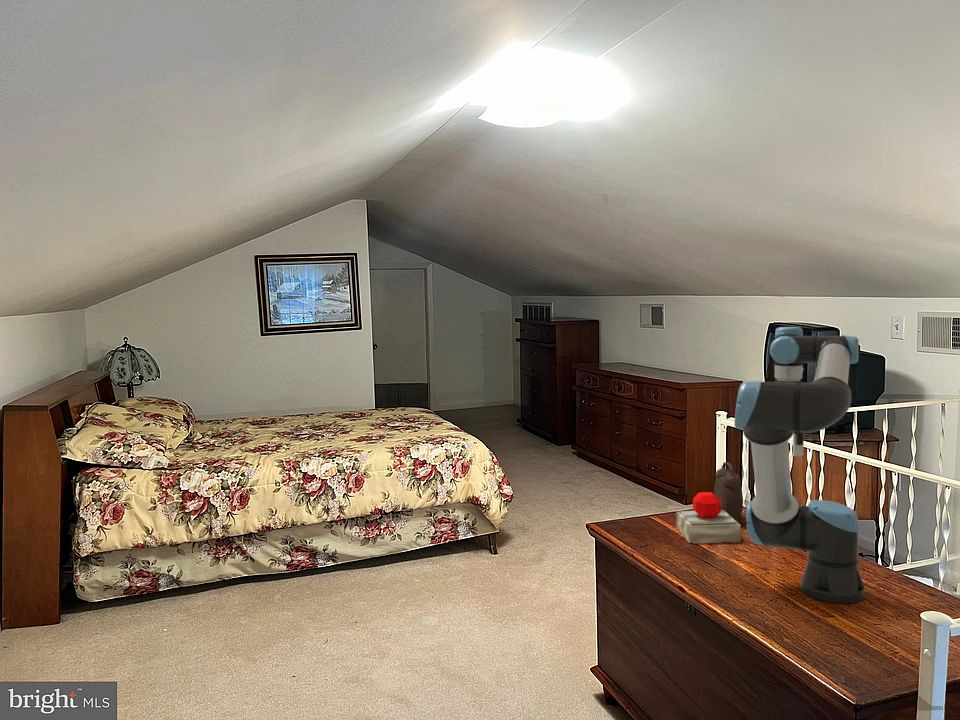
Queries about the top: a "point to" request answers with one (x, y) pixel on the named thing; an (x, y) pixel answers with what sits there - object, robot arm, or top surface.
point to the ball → (706, 505)
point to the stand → (708, 528)
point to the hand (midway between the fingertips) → (788, 450)
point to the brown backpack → (729, 491)
